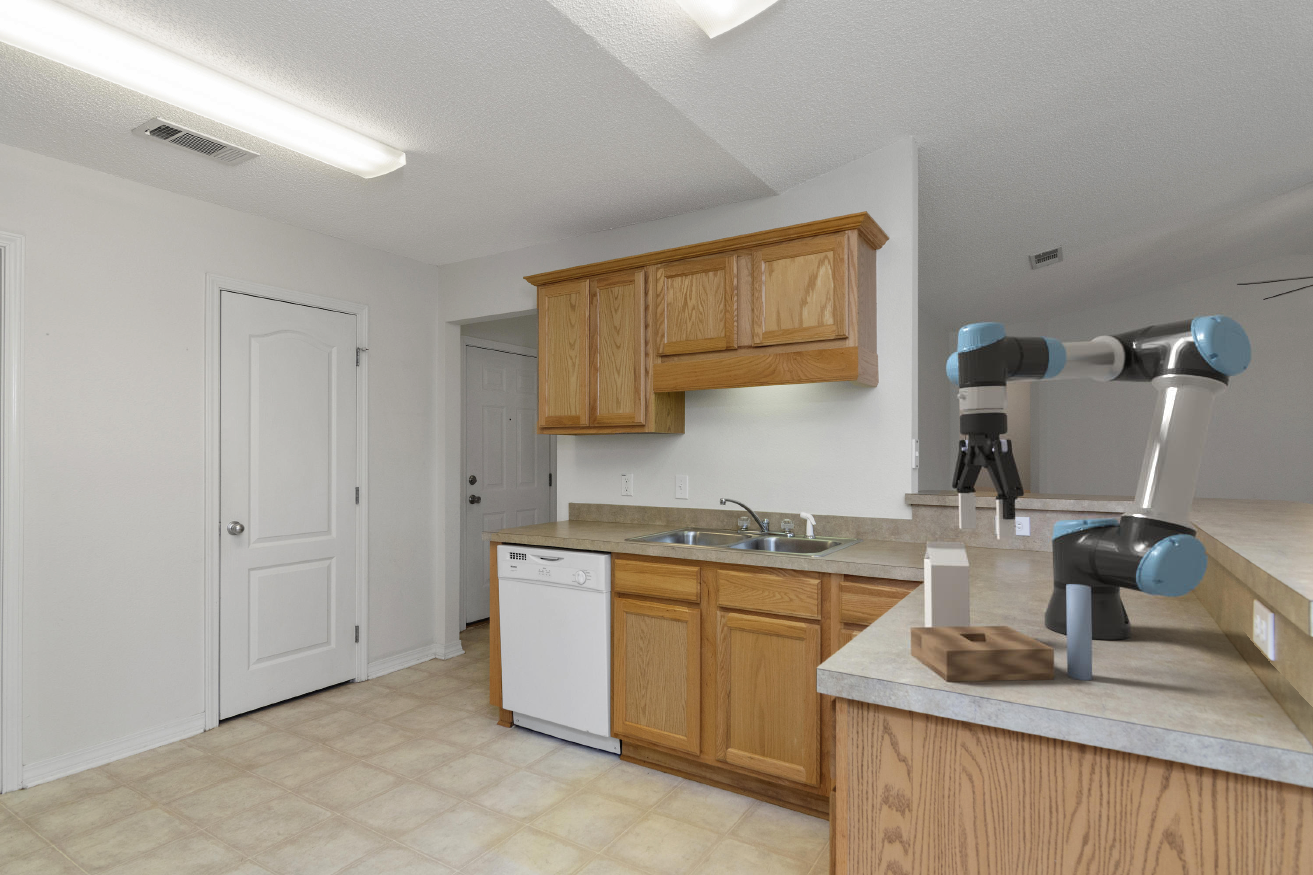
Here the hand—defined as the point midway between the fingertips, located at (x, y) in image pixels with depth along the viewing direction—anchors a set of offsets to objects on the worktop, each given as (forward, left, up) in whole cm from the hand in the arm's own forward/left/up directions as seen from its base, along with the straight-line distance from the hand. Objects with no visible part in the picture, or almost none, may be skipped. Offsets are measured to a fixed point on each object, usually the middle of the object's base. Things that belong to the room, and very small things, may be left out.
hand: (986, 533), depth 117 cm
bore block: (+2, 0, -23) cm, 23 cm away
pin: (-12, +6, -23) cm, 27 cm away
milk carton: (-1, -18, -23) cm, 29 cm away
